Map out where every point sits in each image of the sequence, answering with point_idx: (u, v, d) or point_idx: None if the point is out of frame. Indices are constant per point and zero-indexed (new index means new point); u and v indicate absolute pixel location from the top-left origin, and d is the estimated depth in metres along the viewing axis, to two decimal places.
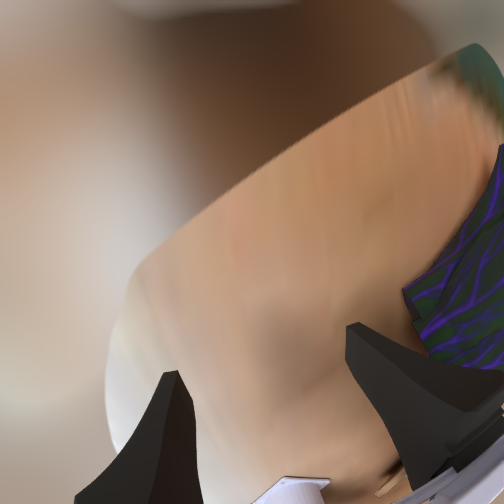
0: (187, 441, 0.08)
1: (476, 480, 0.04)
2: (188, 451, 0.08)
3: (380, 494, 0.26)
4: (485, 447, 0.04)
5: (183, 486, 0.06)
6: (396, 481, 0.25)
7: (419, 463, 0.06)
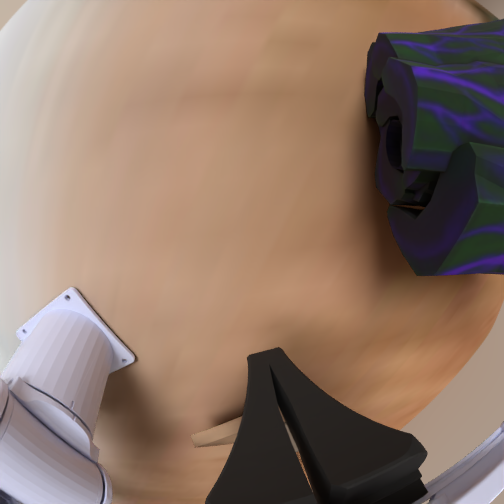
0: None
1: (476, 480, 0.04)
2: None
3: (199, 441, 0.20)
4: None
5: None
6: (233, 430, 0.20)
7: None
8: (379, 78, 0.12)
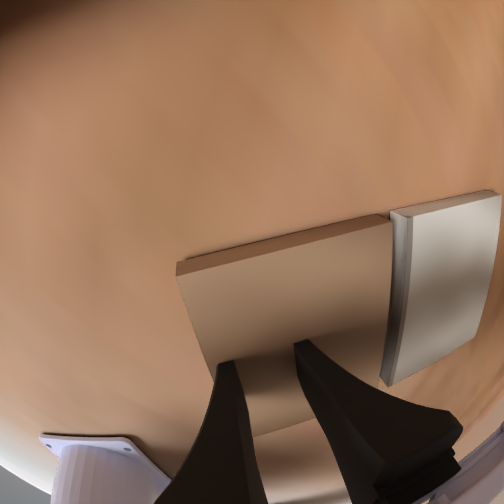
0: (248, 430, 0.09)
1: (476, 480, 0.04)
2: (250, 441, 0.08)
3: None
4: (424, 493, 0.04)
5: (255, 476, 0.06)
6: None
7: (358, 493, 0.06)
8: None
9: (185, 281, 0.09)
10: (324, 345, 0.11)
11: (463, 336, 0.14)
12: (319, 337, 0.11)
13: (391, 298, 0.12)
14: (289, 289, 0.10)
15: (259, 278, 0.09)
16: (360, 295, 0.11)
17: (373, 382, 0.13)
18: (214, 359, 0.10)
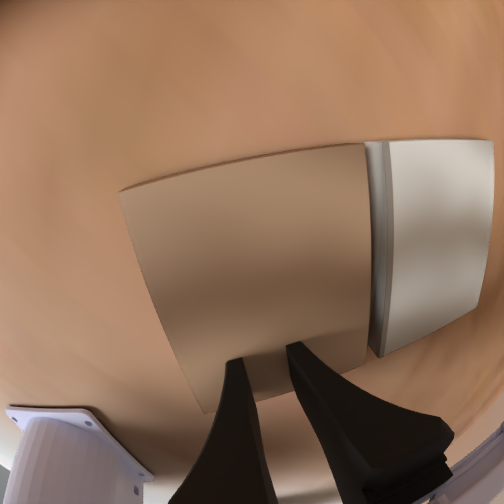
0: (257, 428, 0.09)
1: (476, 480, 0.04)
2: (259, 438, 0.08)
3: None
4: (414, 498, 0.04)
5: (267, 473, 0.07)
6: None
7: (348, 497, 0.06)
8: None
9: (127, 198, 0.08)
10: (294, 292, 0.10)
11: (463, 304, 0.13)
12: (286, 280, 0.10)
13: (375, 245, 0.11)
14: (244, 212, 0.09)
15: (208, 196, 0.08)
16: (333, 229, 0.09)
17: (360, 350, 0.12)
18: (161, 299, 0.09)
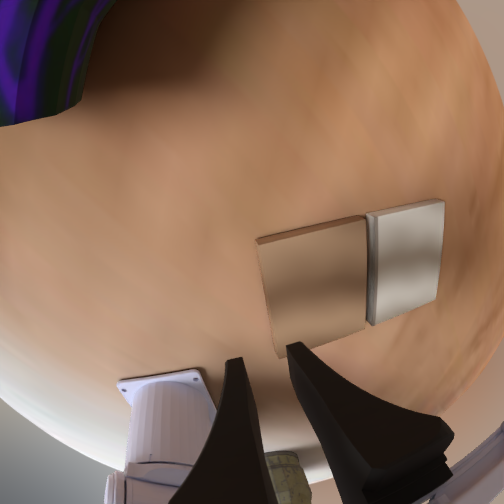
0: (257, 428, 0.09)
1: (476, 480, 0.04)
2: (259, 438, 0.08)
3: (276, 350, 0.22)
4: (415, 499, 0.04)
5: (267, 473, 0.07)
6: (270, 318, 0.21)
7: (348, 497, 0.06)
8: None
9: (263, 247, 0.18)
10: (330, 288, 0.21)
11: (424, 296, 0.23)
12: (327, 282, 0.20)
13: (369, 264, 0.22)
14: (312, 253, 0.19)
15: (298, 247, 0.19)
16: (349, 259, 0.20)
17: (361, 320, 0.23)
18: (272, 293, 0.20)
